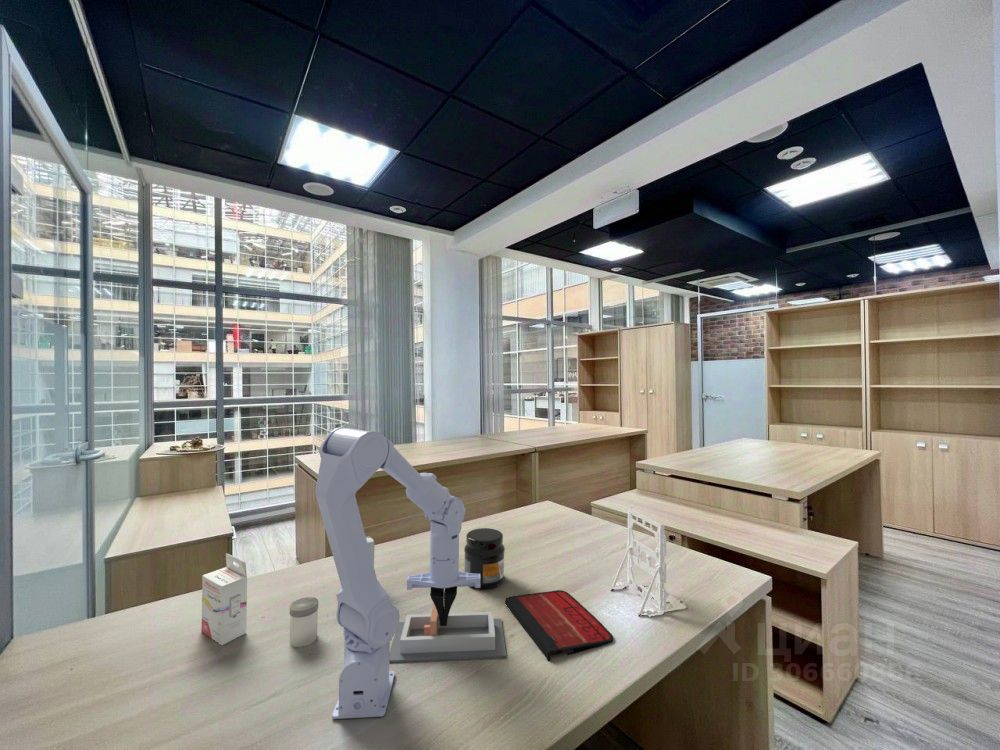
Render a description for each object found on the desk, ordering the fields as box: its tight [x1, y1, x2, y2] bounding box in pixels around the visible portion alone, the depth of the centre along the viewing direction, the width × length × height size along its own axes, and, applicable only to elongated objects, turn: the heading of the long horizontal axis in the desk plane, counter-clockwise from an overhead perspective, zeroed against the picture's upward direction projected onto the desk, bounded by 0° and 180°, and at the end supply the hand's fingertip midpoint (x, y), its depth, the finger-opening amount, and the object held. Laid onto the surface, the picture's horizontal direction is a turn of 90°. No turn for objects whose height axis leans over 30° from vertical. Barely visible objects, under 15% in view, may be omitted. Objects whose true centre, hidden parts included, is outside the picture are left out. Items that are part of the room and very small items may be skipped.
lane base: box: [389, 611, 507, 664], centre depth 82 cm, size 12×22×3 cm, turn 94°
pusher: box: [424, 604, 439, 636], centre depth 82 cm, size 6×3×5 cm, turn 4°
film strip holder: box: [611, 507, 667, 616], centre depth 99 cm, size 14×14×20 cm
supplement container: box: [463, 527, 506, 590], centre depth 107 cm, size 10×10×12 cm
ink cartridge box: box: [200, 552, 248, 646], centre depth 84 cm, size 9×5×15 cm, turn 59°
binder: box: [504, 589, 614, 662], centre depth 89 cm, size 16×2×21 cm
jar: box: [289, 596, 319, 648], centre depth 82 cm, size 5×5×7 cm
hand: (443, 623), depth 82 cm, fingers closed
